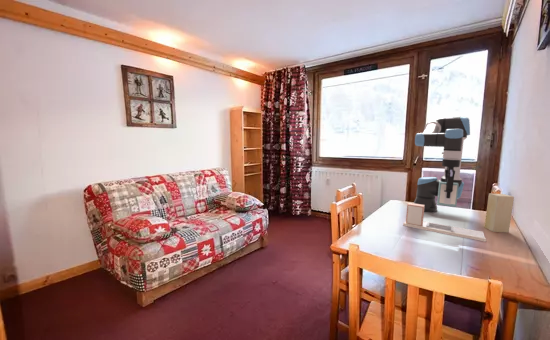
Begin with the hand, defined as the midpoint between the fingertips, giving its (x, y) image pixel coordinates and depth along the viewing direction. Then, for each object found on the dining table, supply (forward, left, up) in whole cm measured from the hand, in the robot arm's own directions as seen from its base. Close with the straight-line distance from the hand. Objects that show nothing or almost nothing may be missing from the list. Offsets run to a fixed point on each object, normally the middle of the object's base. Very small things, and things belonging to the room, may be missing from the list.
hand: (446, 202), depth 131 cm
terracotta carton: (+1, -14, -15) cm, 21 cm away
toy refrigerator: (-20, +23, -17) cm, 35 cm away
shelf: (-3, -1, -17) cm, 17 cm away
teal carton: (0, 0, -1) cm, 1 cm away
